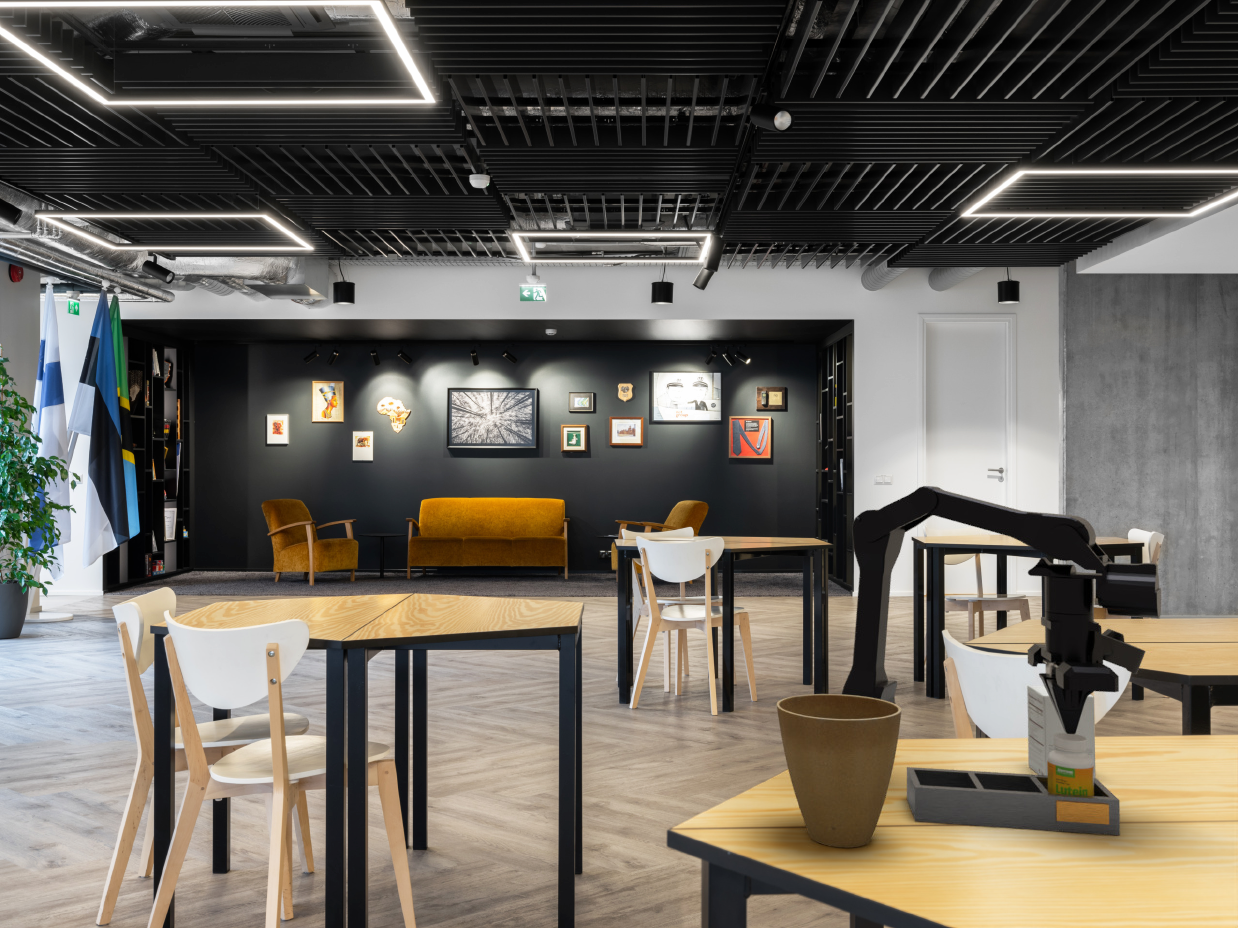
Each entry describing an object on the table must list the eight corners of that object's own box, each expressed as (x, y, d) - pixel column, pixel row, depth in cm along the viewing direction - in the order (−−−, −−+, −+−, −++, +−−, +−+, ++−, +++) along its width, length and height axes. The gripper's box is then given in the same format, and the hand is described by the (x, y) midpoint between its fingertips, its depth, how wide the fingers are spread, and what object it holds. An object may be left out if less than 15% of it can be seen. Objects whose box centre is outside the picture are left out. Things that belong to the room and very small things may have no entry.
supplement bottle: (1051, 817, 117) (1050, 740, 117) (1045, 803, 122) (1044, 730, 122) (1098, 821, 115) (1097, 743, 116) (1090, 808, 120) (1088, 733, 121)
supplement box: (1076, 767, 142) (1075, 685, 142) (1096, 782, 134) (1095, 695, 135) (1026, 766, 142) (1026, 684, 143) (1044, 781, 135) (1043, 694, 135)
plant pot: (914, 829, 115) (914, 700, 116) (883, 870, 102) (883, 725, 103) (800, 807, 123) (800, 687, 123) (758, 843, 110) (758, 709, 110)
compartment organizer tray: (915, 821, 118) (915, 787, 118) (906, 798, 127) (906, 766, 127) (1120, 836, 113) (1120, 800, 113) (1096, 810, 122) (1096, 778, 122)
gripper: (1165, 624, 109) (1166, 757, 108) (1112, 605, 127) (1113, 719, 127) (1064, 620, 111) (1065, 751, 110) (1026, 603, 129) (1027, 715, 129)
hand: (1070, 733), depth 119 cm, fingers closed
